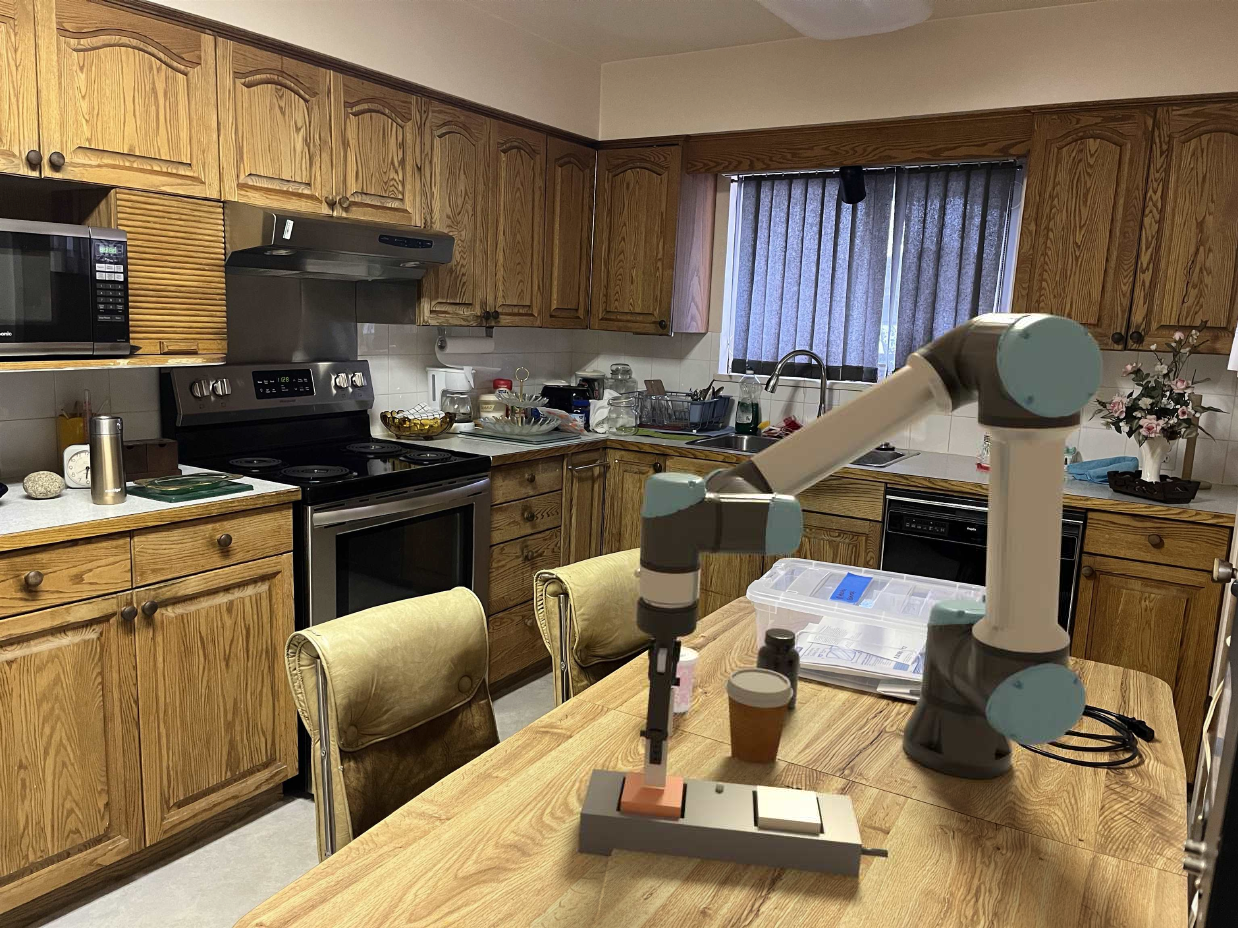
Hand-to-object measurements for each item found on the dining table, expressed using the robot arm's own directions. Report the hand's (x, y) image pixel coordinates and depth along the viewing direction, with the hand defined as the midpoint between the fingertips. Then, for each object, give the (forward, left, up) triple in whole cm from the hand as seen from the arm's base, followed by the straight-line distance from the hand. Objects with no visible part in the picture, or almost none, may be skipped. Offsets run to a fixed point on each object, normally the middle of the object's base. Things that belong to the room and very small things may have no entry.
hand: (658, 757), depth 117 cm
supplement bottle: (-17, -35, -7) cm, 39 cm away
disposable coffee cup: (-13, -15, -7) cm, 21 cm away
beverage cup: (-1, -30, -7) cm, 31 cm away
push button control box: (-10, +7, -6) cm, 14 cm away
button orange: (0, +7, -5) cm, 9 cm away
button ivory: (-16, +7, -5) cm, 18 cm away
